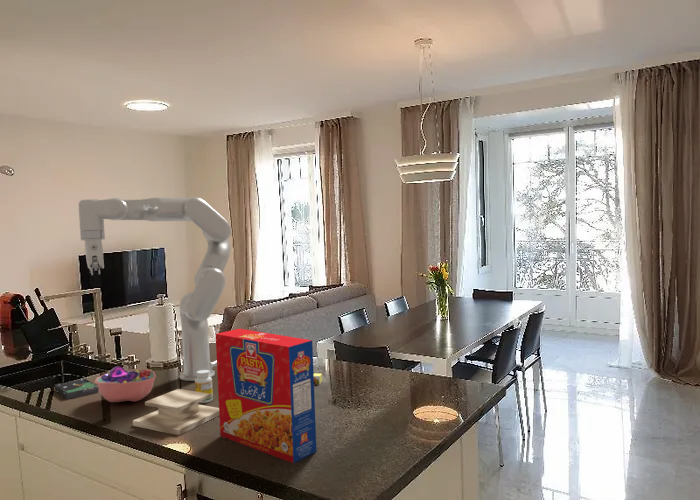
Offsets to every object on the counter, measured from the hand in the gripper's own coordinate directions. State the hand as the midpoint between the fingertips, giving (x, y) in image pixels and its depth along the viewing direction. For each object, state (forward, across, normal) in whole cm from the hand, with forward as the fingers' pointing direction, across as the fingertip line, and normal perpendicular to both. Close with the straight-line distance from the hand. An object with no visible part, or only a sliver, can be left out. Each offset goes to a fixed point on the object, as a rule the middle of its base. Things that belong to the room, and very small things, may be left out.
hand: (95, 285), depth 189 cm
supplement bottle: (+38, -29, -29) cm, 56 cm away
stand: (+37, -42, -18) cm, 59 cm away
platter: (+38, -28, -59) cm, 76 cm away
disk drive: (+38, +6, +8) cm, 39 cm away
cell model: (+38, -15, -7) cm, 41 cm away
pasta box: (+38, -73, -35) cm, 89 cm away
